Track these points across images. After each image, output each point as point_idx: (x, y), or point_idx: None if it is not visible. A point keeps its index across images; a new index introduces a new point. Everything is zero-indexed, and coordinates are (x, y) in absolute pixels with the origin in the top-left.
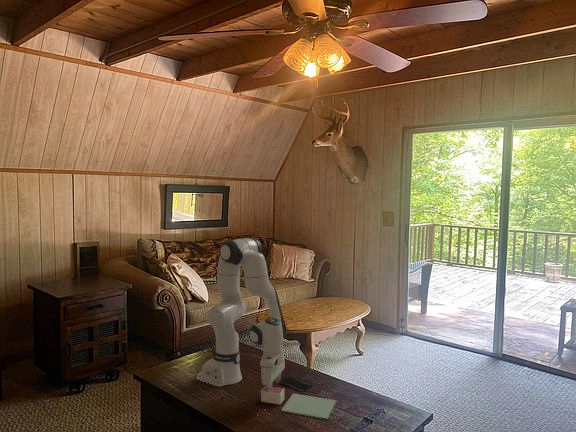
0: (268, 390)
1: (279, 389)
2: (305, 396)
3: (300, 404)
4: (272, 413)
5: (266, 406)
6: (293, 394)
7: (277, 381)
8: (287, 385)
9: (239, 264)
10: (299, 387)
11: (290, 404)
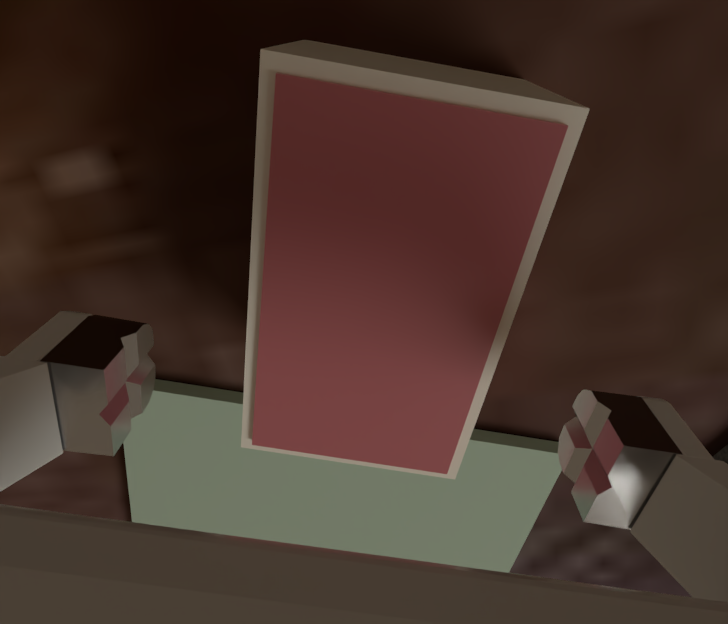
0: (50, 328)
1: (393, 423)
2: (492, 556)
3: (306, 530)
4: (30, 289)
5: (170, 174)
6: (539, 459)
7: (586, 438)
8: None
9: None
10: None
11: (279, 454)
